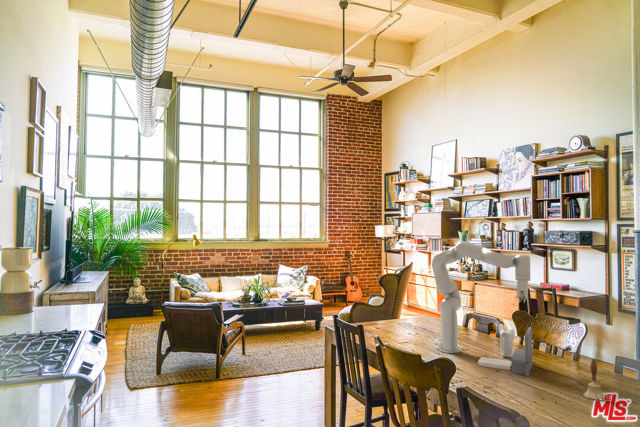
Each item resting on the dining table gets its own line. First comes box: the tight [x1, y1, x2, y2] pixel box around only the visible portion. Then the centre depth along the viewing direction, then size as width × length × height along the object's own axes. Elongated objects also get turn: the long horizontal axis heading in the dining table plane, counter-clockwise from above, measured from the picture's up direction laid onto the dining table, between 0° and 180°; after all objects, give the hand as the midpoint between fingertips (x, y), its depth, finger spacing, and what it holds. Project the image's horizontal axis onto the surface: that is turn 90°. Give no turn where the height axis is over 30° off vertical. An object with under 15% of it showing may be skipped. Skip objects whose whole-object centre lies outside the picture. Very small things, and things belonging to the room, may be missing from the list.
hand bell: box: [583, 359, 606, 400], centre depth 185 cm, size 8×8×16 cm
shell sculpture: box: [498, 323, 516, 358], centre depth 244 cm, size 8×8×18 cm
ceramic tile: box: [477, 356, 512, 371], centre depth 228 cm, size 16×10×2 cm, turn 59°
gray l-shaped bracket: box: [510, 326, 533, 378], centre depth 222 cm, size 8×21×20 cm, turn 149°
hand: (523, 308), depth 234 cm, fingers open, 9 cm apart
